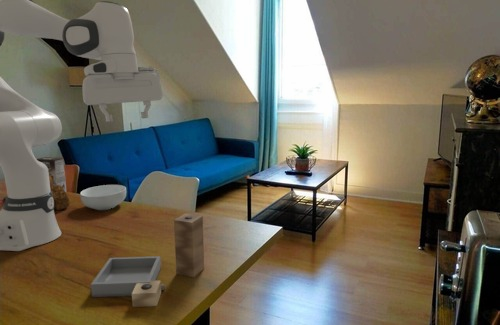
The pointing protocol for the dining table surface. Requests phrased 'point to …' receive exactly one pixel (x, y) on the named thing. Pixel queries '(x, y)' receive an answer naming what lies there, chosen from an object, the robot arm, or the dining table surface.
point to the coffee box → (55, 170)
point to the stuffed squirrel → (58, 196)
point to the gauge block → (147, 293)
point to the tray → (125, 275)
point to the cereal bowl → (103, 196)
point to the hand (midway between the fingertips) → (127, 119)
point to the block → (189, 245)
